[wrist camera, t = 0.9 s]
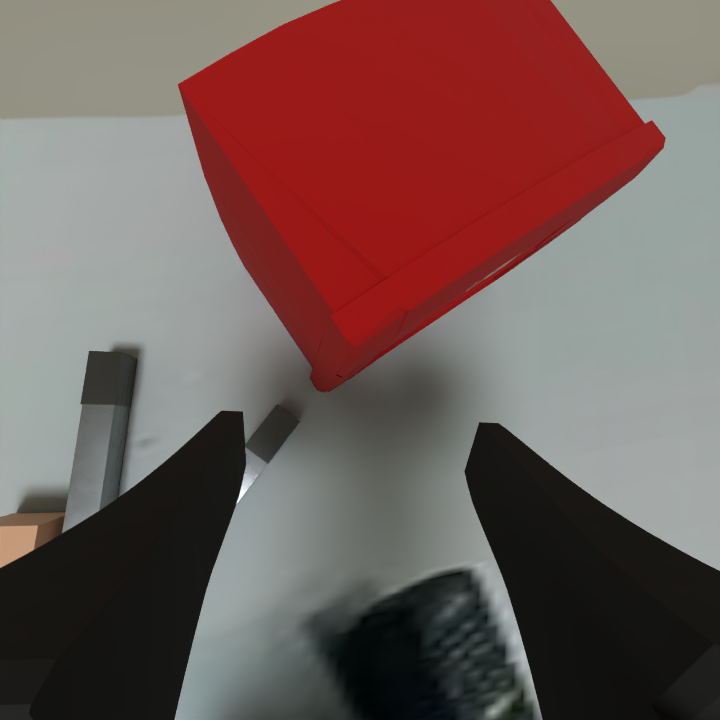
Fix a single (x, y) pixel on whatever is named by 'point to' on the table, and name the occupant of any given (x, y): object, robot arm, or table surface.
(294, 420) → the tongs arm
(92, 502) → the tongs handle
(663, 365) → the table surface
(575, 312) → the table surface
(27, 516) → the block
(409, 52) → the red curved-top box
